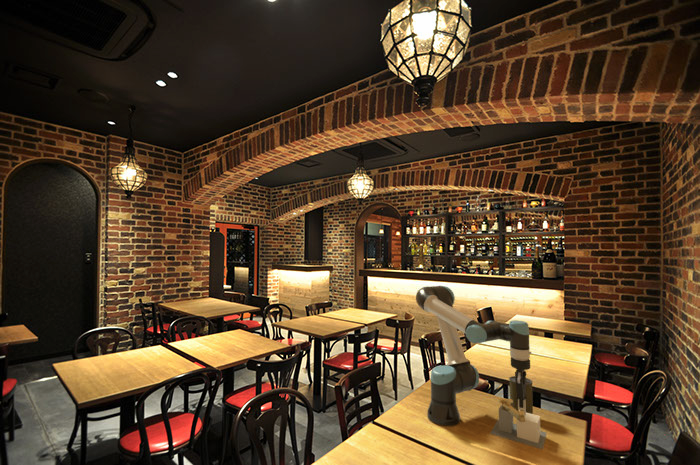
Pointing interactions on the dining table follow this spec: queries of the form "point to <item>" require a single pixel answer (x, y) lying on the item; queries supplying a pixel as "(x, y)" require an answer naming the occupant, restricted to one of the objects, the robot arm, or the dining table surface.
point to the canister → (528, 394)
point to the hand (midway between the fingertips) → (522, 414)
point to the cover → (529, 428)
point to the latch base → (513, 430)
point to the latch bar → (512, 409)
